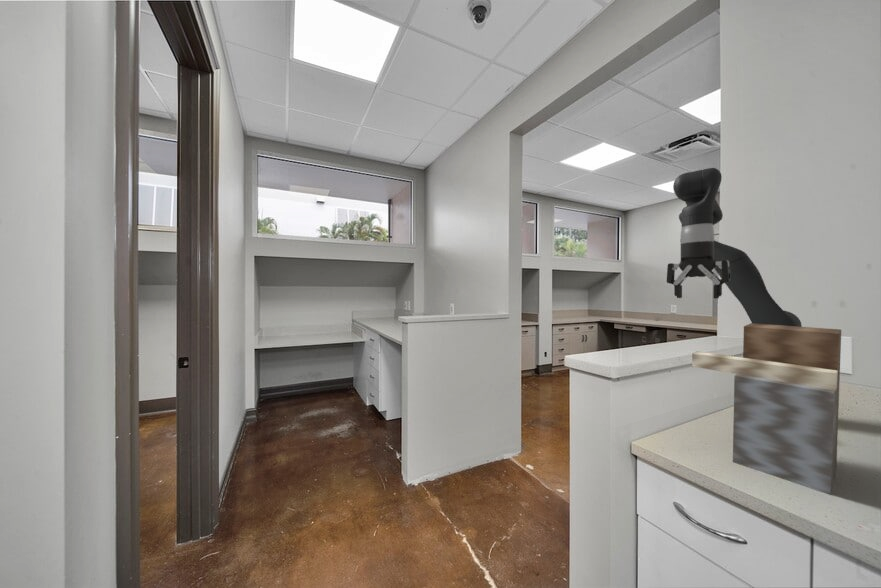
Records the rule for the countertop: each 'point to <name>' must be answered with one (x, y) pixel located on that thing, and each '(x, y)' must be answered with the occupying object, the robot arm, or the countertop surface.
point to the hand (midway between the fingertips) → (697, 298)
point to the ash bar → (767, 370)
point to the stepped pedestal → (788, 407)
